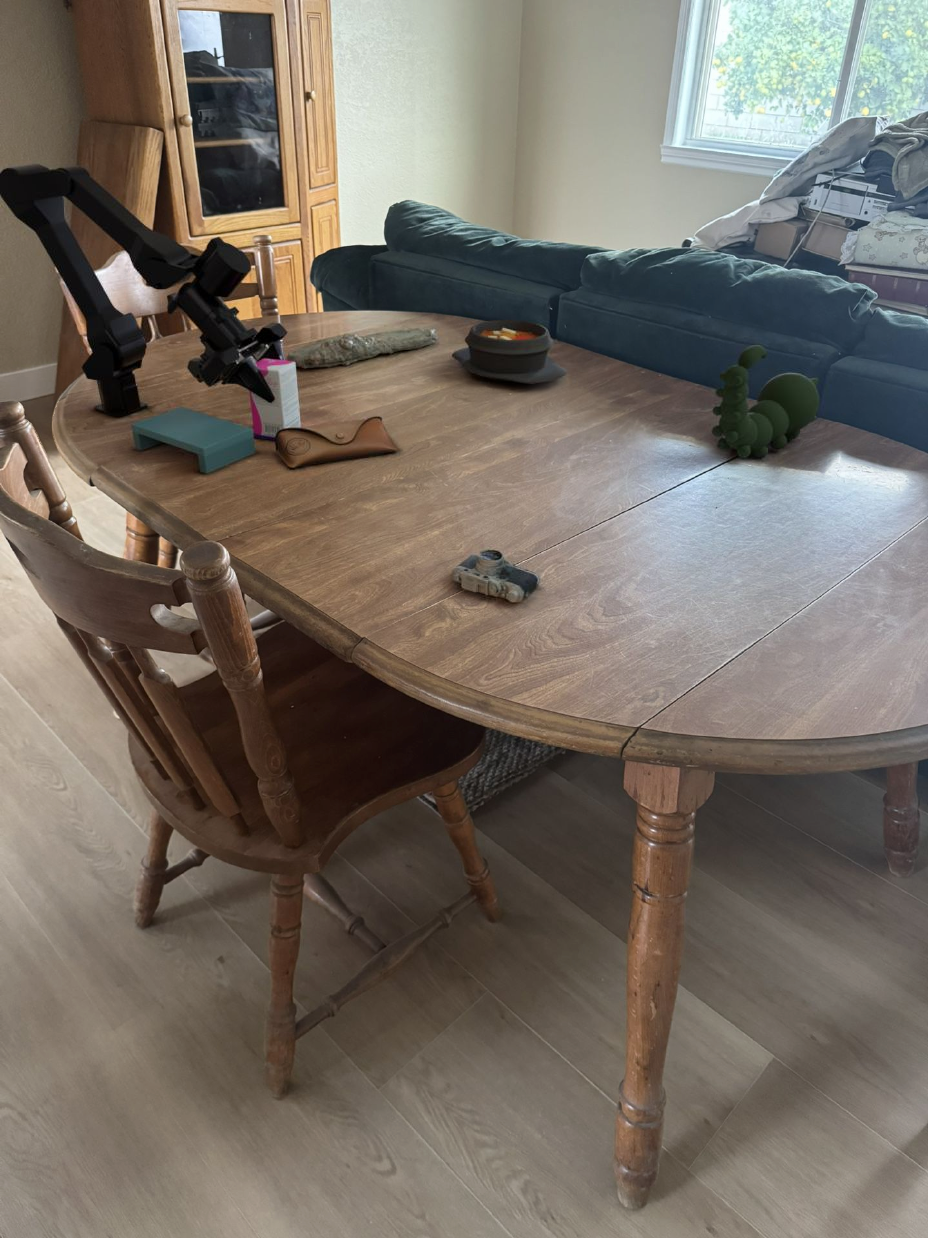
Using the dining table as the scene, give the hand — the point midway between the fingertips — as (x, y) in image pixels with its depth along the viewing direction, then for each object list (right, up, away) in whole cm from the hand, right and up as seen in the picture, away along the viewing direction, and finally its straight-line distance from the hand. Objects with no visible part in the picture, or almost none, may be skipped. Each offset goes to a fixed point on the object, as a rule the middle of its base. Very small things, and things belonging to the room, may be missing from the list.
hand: (282, 394), depth 144 cm
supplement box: (-2, -5, +4) cm, 7 cm away
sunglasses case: (+9, -10, -2) cm, 14 cm away
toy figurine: (+77, -8, +4) cm, 78 cm away
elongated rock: (+9, +18, +41) cm, 46 cm away
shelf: (-13, -9, -3) cm, 16 cm away
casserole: (+37, +12, +33) cm, 51 cm away
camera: (+33, -32, -36) cm, 58 cm away
